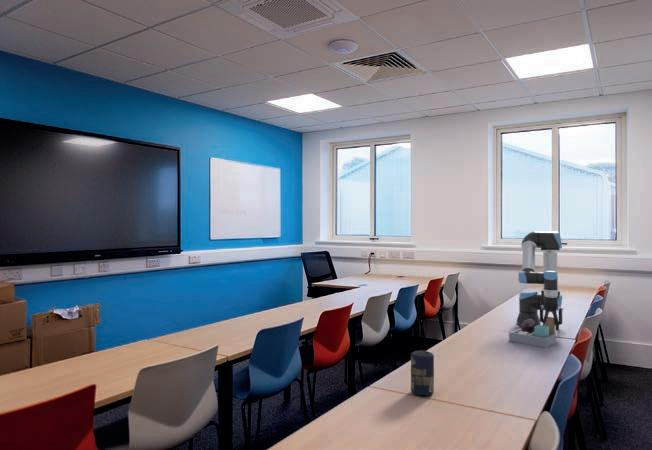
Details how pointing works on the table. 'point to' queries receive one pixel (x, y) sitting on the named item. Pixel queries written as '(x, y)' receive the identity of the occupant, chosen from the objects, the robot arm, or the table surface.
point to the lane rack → (532, 339)
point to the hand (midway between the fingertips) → (551, 334)
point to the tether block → (545, 328)
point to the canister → (422, 372)
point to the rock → (528, 326)
